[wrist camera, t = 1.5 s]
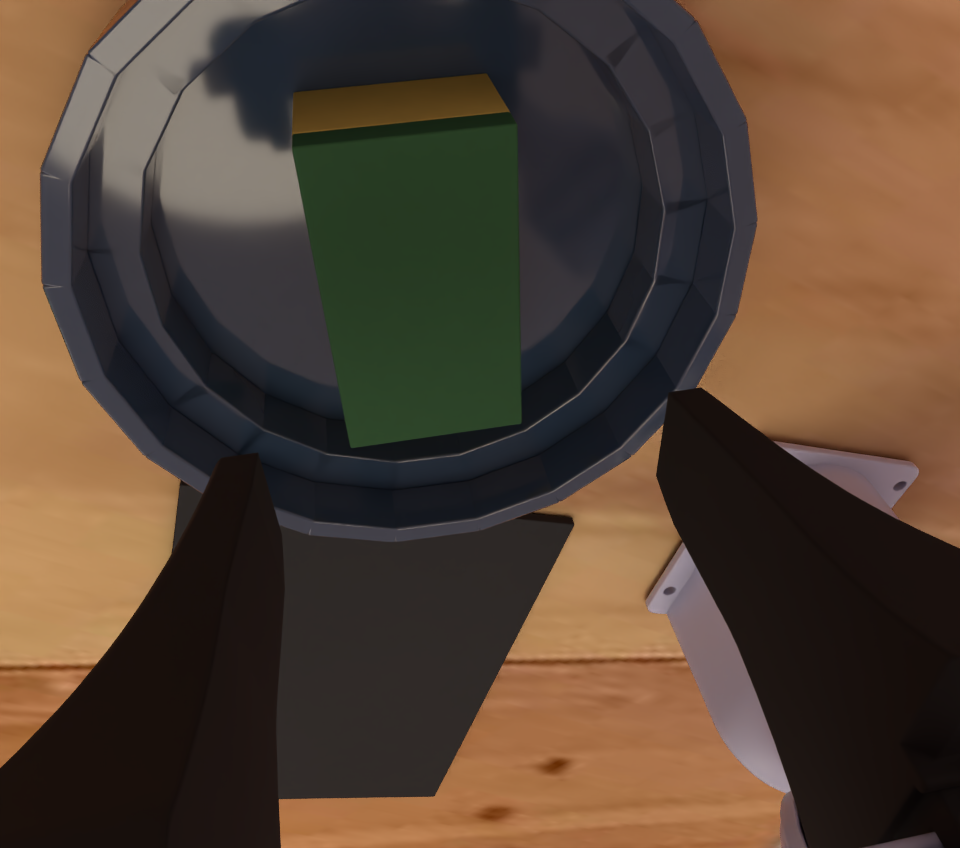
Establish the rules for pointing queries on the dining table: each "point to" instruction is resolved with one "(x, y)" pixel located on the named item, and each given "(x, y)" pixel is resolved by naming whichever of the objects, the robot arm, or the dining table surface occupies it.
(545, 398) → the bowl
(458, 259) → the sponge
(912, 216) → the dining table surface
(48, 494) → the dining table surface
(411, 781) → the drying mat
